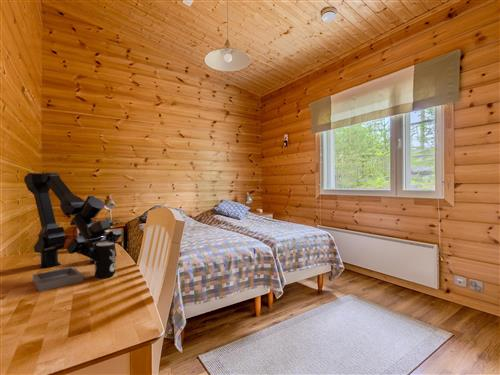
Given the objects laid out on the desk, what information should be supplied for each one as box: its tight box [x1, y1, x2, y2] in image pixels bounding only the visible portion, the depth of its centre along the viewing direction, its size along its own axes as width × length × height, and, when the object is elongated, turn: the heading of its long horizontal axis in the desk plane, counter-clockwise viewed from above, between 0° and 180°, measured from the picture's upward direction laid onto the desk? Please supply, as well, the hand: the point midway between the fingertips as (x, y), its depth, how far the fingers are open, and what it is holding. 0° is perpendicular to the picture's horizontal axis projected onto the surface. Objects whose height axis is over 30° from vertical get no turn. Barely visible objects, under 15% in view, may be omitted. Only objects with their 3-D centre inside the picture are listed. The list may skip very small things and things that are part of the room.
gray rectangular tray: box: [32, 266, 84, 292], centre depth 91 cm, size 12×12×2 cm
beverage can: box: [94, 242, 116, 280], centre depth 96 cm, size 7×7×12 cm
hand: (107, 258), depth 96 cm, fingers closed on beverage can, 6 cm apart
